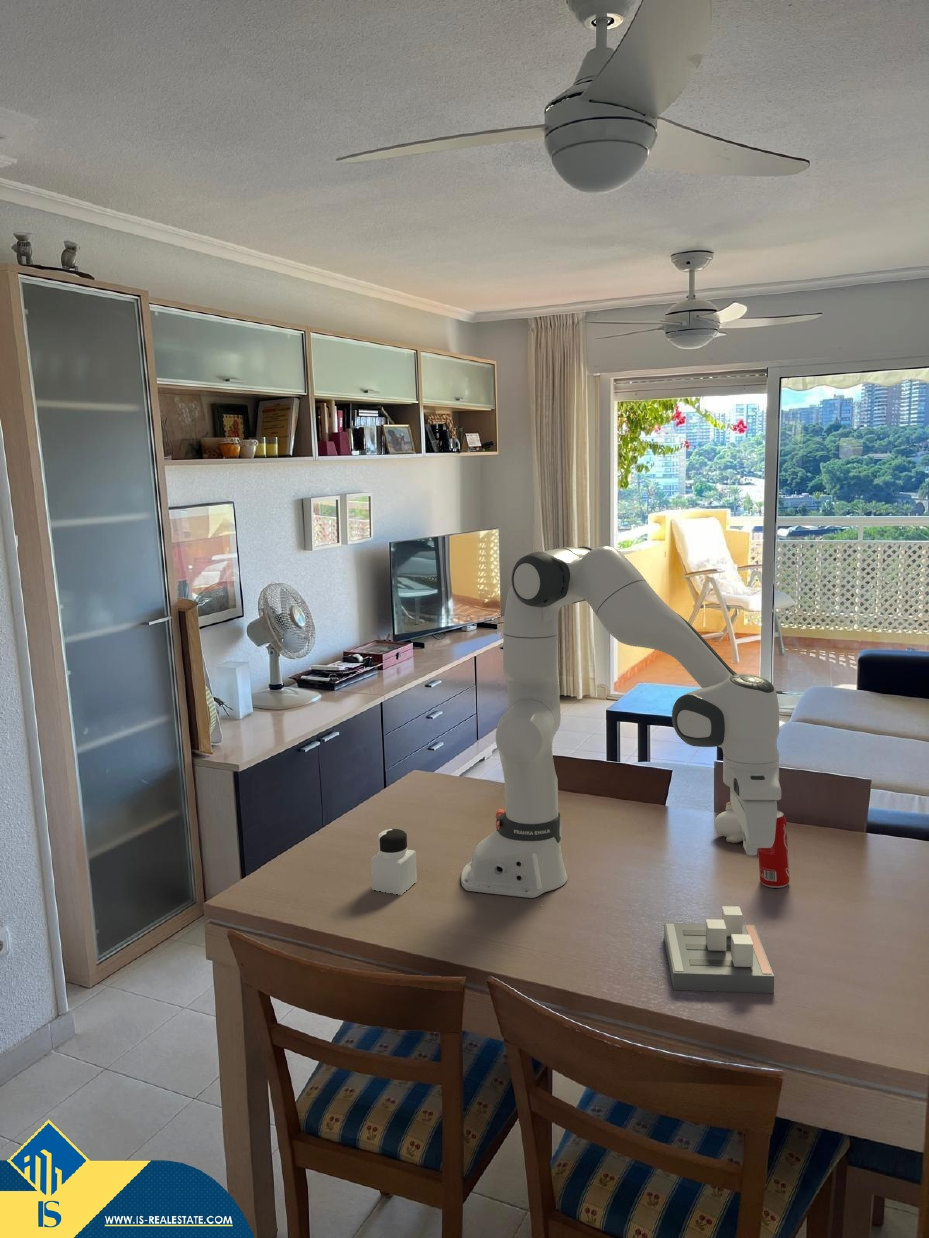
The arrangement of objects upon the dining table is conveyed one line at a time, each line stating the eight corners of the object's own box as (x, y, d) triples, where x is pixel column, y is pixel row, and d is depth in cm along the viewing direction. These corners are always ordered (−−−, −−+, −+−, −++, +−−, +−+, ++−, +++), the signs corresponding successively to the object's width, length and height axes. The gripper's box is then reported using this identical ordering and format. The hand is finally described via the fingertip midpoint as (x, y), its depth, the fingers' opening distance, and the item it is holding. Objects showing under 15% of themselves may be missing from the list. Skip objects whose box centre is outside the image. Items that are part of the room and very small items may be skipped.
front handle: (734, 966, 150) (734, 943, 150) (731, 956, 153) (731, 933, 153) (752, 966, 150) (753, 944, 149) (749, 956, 153) (749, 934, 152)
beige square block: (708, 950, 156) (708, 928, 155) (705, 940, 159) (705, 919, 158) (726, 950, 155) (726, 928, 155) (723, 941, 158) (723, 919, 158)
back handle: (724, 935, 160) (724, 914, 159) (721, 927, 163) (722, 906, 163) (742, 936, 160) (742, 915, 159) (739, 927, 163) (739, 906, 162)
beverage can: (791, 889, 184) (792, 819, 181) (757, 888, 185) (758, 817, 183) (787, 877, 189) (788, 808, 187) (754, 875, 191) (755, 807, 188)
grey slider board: (673, 989, 150) (673, 972, 150) (664, 937, 167) (663, 922, 166) (774, 993, 148) (774, 975, 148) (754, 940, 165) (754, 924, 164)
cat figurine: (710, 798, 210) (778, 797, 204) (717, 805, 217) (783, 805, 211) (711, 840, 207) (780, 841, 200) (718, 846, 213) (785, 847, 207)
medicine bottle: (417, 881, 194) (415, 828, 192) (401, 896, 188) (398, 840, 186) (388, 876, 197) (385, 823, 195) (371, 890, 191) (368, 836, 189)
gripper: (721, 753, 162) (721, 828, 164) (741, 793, 142) (741, 877, 144) (758, 753, 161) (757, 828, 163) (783, 793, 141) (782, 878, 143)
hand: (750, 851), depth 154 cm, fingers closed
